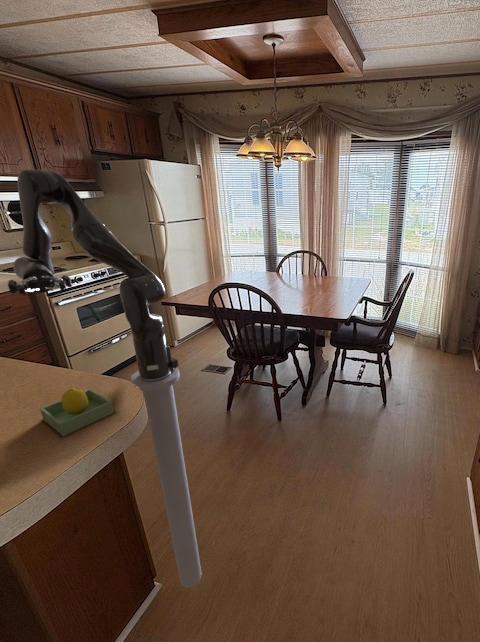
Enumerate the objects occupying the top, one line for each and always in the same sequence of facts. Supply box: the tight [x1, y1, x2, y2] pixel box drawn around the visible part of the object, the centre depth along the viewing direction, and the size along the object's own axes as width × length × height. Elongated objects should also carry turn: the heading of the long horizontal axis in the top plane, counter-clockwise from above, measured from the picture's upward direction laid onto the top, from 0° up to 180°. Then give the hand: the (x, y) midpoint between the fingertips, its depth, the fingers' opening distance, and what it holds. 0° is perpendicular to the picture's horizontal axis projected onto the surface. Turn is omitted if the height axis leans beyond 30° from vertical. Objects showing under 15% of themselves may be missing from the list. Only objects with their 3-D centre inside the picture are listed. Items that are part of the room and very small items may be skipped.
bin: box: [39, 388, 115, 437], centre depth 91 cm, size 12×11×4 cm
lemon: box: [61, 387, 88, 415], centre depth 90 cm, size 6×6×8 cm
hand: (43, 289), depth 95 cm, fingers open, 8 cm apart
